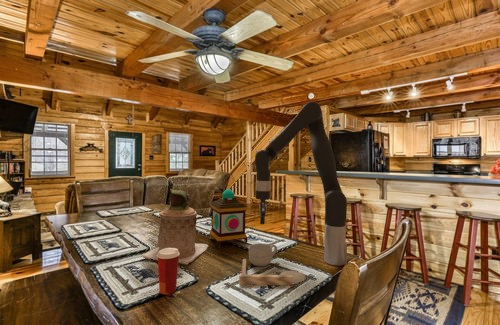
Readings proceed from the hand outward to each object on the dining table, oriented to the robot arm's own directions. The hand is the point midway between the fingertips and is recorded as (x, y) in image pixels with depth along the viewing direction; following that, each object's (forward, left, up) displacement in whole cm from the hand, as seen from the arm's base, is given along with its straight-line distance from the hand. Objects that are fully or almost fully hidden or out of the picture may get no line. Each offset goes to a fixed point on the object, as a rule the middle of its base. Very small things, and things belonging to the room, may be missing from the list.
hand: (262, 223), depth 127 cm
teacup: (0, +14, -15) cm, 20 cm away
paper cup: (+35, +39, -15) cm, 54 cm away
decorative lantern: (+19, -17, -15) cm, 30 cm away
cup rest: (0, +25, -15) cm, 28 cm away
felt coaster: (-11, +27, -15) cm, 32 cm away
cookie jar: (+42, +3, -15) cm, 45 cm away
